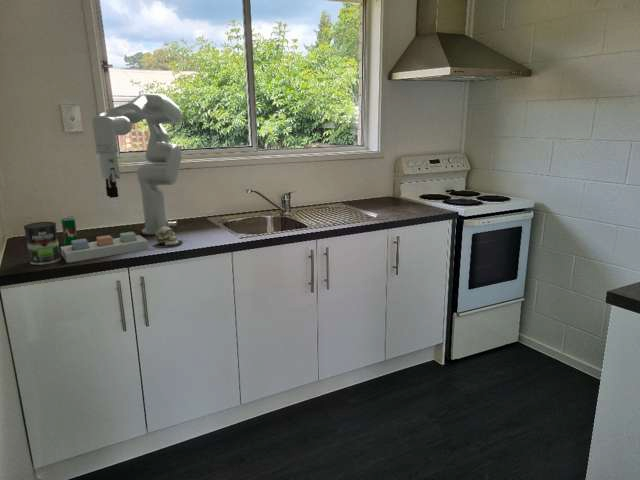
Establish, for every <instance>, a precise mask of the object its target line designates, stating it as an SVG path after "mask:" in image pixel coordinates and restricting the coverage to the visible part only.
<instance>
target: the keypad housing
mask: <svg viewBox="0 0 640 480" xmlns="http://www.w3.org/2000/svg"><path fill="white" fill-rule="evenodd" d="M136 240H137V241H131V242H125V243H123V242H121V239H120V237H117V238H113V244H112V245H106V246H100V247H99V246H98V245H97V240H96V241H91V242H89V241H88V245H89V248H87V249H81V250H74V251H73V249H72V245H69V246H67V245H63V246H60V253H61V255H62V256H61V257H63V259H64V260H65V262H66V263H67V264H68V263H74V262H81V261H86V260H87V261H88V260H92V259H98V258H104V257H109V256H114V255H115V256H116V255H121V254H127V253H131V252H132V253H134V252H139V251H143V250H144V251H146V250H149V249H150V247H149V240H147V238H144V237H143V236H142V235H140V234H136Z"/></svg>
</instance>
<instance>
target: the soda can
mask: <svg viewBox="0 0 640 480" xmlns="http://www.w3.org/2000/svg"><path fill="white" fill-rule="evenodd" d="M60 221H61V222H60V223H61V228H62V233H63V240H64V241H63V242H64V246H69V245H72V243H71V241H72V240H78V232H77V225H76V219H75V217H74V216H73V215H66V216H62V217H61V220H60Z"/></svg>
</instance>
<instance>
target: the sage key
mask: <svg viewBox="0 0 640 480" xmlns="http://www.w3.org/2000/svg"><path fill="white" fill-rule="evenodd" d="M136 235H137V234H136V233H135V232H134V231H127V232H121V233H119V238H120V239H121V242H123V243H125V242H131V241H137V240H136Z"/></svg>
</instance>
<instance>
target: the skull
mask: <svg viewBox="0 0 640 480" xmlns="http://www.w3.org/2000/svg"><path fill="white" fill-rule="evenodd" d="M155 239H156V241H157V242H158V243H156V244H153V245H152V247H155V248H167V247H173V246H177V245H181V244H182V243H183V240H180V239H178V237H177V236H176V233H175V232H174V229H173V228H171V227H170V228H169V227H162V228H160V229H159V230H158V231H157V233H156V234H155Z"/></svg>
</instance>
